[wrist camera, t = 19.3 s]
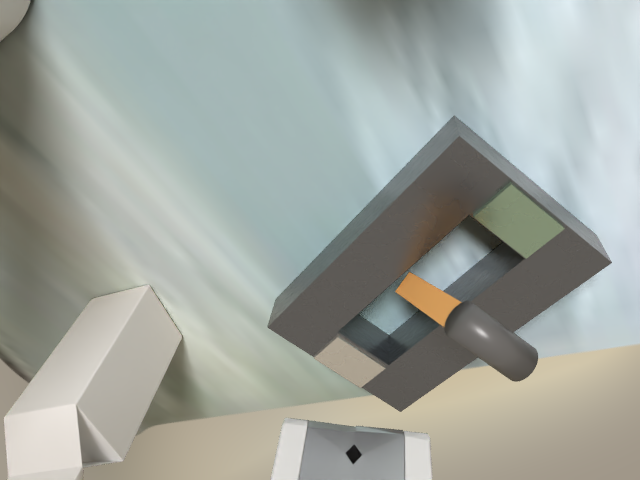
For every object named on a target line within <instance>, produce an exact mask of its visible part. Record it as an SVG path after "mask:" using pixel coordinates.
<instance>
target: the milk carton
mask: <svg viewBox="0 0 640 480" xmlns="http://www.w3.org/2000/svg"><path fill="white" fill-rule="evenodd" d="M181 339H182V335H181V333H180V332H179V330H178V329H177V327H176V326H175V324H174V322H173V321H172V319H171V318H170V316H169V315H168V313H167V312H166V310H165V308H164V307H163V305H162V304H161V302H160V301H159V299H158V298H157V296H156V294H155V293H154V291H153V290H152V288H151V287H150V285H145V286H141V287H137V288H133V289H129V290H125V291H121V292H117V293H113V294H109V295H104V296H100V297H97V298H93V299H91V300H90V302H89V303H88V304H87V306H86V307H85V308H84V310H83V311H82V313H81V314H80V315H79V317H78V318H77V319H76V321H75V322H74V323H73V325H72V326H71V327H70V329H69V330H68V331H67V333H66V334H65V336H64V337H63V338H62V340H61V341H60V342H59V344H58V345H57V346H56V348H55V349H54V350H53V352H52V353H51V355H50V356H49V357H48V359H47V360H46V361H45V363H44V364H43V365H42V367H41V368H40V369H39V371H38V372H37V373H36V375H35V376H34V378H33V379H32V380H31V382H30V383H29V384H28V386H27V387H26V388H25V390H24V391H23V392H22V394H21V395H20V397H19V398H18V399H17V401H16V402H15V403H14V405H13V406H12V407H11V409H10V410H9V412H8V413H7V414H6V415H5V417H4V427H5V441H6V453H7V467H8V478H7V480H83V468H85V467H91V466H98V465H103V464H110V463H116V462H121V461H123V460H124V459H125V457H126V455H127V453H128V450H129V448H130V446H131V444H132V442H133V440H134V438H135V436H136V434H137V432H138V429H139V427H140V425H141V423H142V421H143V419H144V417H145V415H146V413H147V410H148V408H149V406H150V404H151V402H152V400H153V398H154V396H155V394H156V392H157V389H158V387H159V385H160V383H161V381H162V379H163V377H164V375H165V373H166V370H167V368H168V366H169V364H170V362H171V360H172V358H173V356H174V354H175V352H176V349H177V347H178V345H179V343H180V341H181Z"/></svg>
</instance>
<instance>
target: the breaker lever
mask: <svg viewBox="0 0 640 480" xmlns="http://www.w3.org/2000/svg"><path fill="white" fill-rule="evenodd" d="M395 292H396V293H398V294H399V295H401V296H402V297H403V298H405V299H406V300H407V301H409V302H410V303H412V304H413V305H414V306H416V307H417V308H418V309H420V310H421V311H422V312H424V313H425V314H427V315H428V316H429V317H431V318H432V319H433V320H435V321H436V322H438V323H439V324H440V325H442V326H443V327H444V330H445V334H446V335H447V336H449V337H450V338H451V339H453V340H454V341H456V342H457V343H459V344H460V345H461V346H463V347H464V348H466V349H467V350H469V351H470V352H471V353H473V354H474V355H476V356H477V357H479V358H480V359H481V360H483V361H484V362H486V363H487V364H489V365H490V366H491V367H493V368H494V369H496V370H497V371H499V372H500V373H501V374H503V375H504V376H506V377H507V378H509V379H510V380H512V381H521V380H523V379H525V378H526V377H528V376H529V375H530V374H531V373H532V372H533V370H534V369H535V367H536V365H537V361H538V353H537V351H536V349H535V348H534V347H532V346H531V345H530V344H528V343H527V342H526V341H524V340H523V339H521V338H520V337H519V336H517V335H516V334H515V333H513V332H512V331H510V330H509V329H508V328H506V327H505V326H504V325H502V324H501V323H500V322H498V321H497V320H495V319H494V318H493V317H491V316H490V315H489V314H487V313H486V312H485V311H483V310H482V309H480V308H479V307H478V306H476V305H475V304H474V303H472V302H471V301H464V302H460V301H459V300H457V299H455V298H454V297H452V296H450V295H448V294H447V293H445V292H443V291H441V290H440V289H438V288H436V287H435V286H433V285H431V284H429V283H428V282H426V281H424V280H423V279H421V278H419V277H417V276H416V275H414V274H412V273H410V272H409V273H408V274H407V276H406V277H405V279H404V280H403V281H402V283H401V284H400V286H399V287H398V288H397V290H396V291H395Z"/></svg>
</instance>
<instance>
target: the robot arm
mask: <svg viewBox="0 0 640 480" xmlns="http://www.w3.org/2000/svg"><path fill="white" fill-rule="evenodd" d="M30 1H31V0H0V42H1V41H2V39H4V38H5V37H6V36H7V35H8V34H9V33H11V32H12V31H13V30H14V29H15V28H16V27H17V26H18V24H19V23H20V22H21V20H22V19H23V17H24V16H25V14H26V12H27V10H28V7H29V4H30ZM271 480H433V477H432V462H431V445H430V437H429V435H428V434H427V433H417V432H408V431H404V432H403V430H394V429H385V428H374V427H363V426H356V427H353V426H345V425H338V424H331V423H324V422H316V421H309V420H301V419H292V418H285V420H284V422H283V424H282V428H281V432H280V437H279V442H278V447H277V451H276V456H275V461H274V465H273V470H272V475H271Z"/></svg>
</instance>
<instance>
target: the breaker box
mask: <svg viewBox="0 0 640 480" xmlns="http://www.w3.org/2000/svg"><path fill="white" fill-rule="evenodd" d="M468 215H470V216H471V217H473V218H474V219H475V220H476V221H478V222H479V223H480V224H481V225H483V226H484V227H485V228H487V229H488V230H489V231H490V232H492V233H493V234H494V235H495V236H497V237H498V238H499V239H501V240H502V241H503V243H501V244H500V245H499V246H498V247H496V248H495V249H494V250H493V251H492V252H490V253H489V254H488V255H487V256H485V257H484V258H483V259H482V260H481V261H479V262H478V263H477V264H476V265H474V266H473V267H472V268H471V269H470V270H468V271H467V272H466V273H465V274H464V275H462V276H461V277H460V278H459V279H457V280H456V281H455V282H454V283H453V284H451V285H450V286H449V287H448V288H446V289H445V290H444V291H443V292H445V293H447V294H448V295H450V296H452V297H454V298H455V299H457V300H459V301H460V302H464V301H471V302H472V303H474V304H475V305H476V306H478V307H479V308H480V309H482V310H483V311H485V312H486V313H487V314H489V315H490V316H491V317H493V318H494V319H495V320H497V321H498V322H500V323H501V324H502V325H504V326H505V327H506V328H508V329H509V330H510V331H512V332H514V331H516V330H517V329H519V328H520V327H521V326H523V325H524V324H526V323H527V322H529V321H530V320H531V319H533V318H534V317H536V316H537V315H538V314H540V313H541V312H543V311H544V310H546V309H547V308H548V307H550V306H551V305H553V304H554V303H555V302H557V301H558V300H560V299H561V298H563V297H564V296H565V295H567V294H568V293H570V292H571V291H572V290H574V289H575V288H577V287H578V286H580V285H581V284H582V283H584V282H585V281H587V280H588V279H589V278H591V277H592V276H594V275H595V274H597V273H598V272H599V271H601V270H602V269H604V268H605V267H606V266H608V265H609V264H611V263H612V262H611V260H610V258H609V257H608V255H607V253H606V251H605V250H604V248H603V246H602V244H601V243H600V241H599V239H598V237H597V235H596V234H595V233H593V232H592V231H591V230H590V229H589V228H587V227H586V226H585V225H584V224H583V223H582V222H580V221H579V220H578V219H577V218H576V217H574V216H573V215H572V214H571V213H570V212H568V211H567V210H566V209H565V208H564V207H563V206H561V205H560V204H559V203H558V202H557V201H555V200H554V199H553V198H552V197H551V196H549V195H548V194H547V193H546V192H545V191H544V190H542V189H541V188H540V187H539V186H538V185H536V184H535V183H534V182H533V181H532V180H530V179H529V178H528V177H527V176H526V175H524V174H523V173H522V172H521V171H520V170H519V169H517V168H516V167H515V166H514V165H513V164H511V163H510V162H509V161H508V160H507V159H505V158H504V157H503V156H502V155H501V154H500V153H498V152H497V151H496V150H495V149H494V148H492V147H491V146H490V145H489V144H488V143H486V142H485V141H484V140H483V139H482V138H481V137H479V136H478V135H477V134H476V133H475V132H473V131H472V130H471V129H470V128H469V127H467V126H466V125H465V124H464V123H463V122H461V121H460V120H459V119H458V118H457V117H456V116H453V117H452V118H451V119H450V120H449V121H448V122H447V123H446V124H445V126H444V127H443V128H442V129H441V130H440V131H439V132H438V133H437V134H436V135H435V136H434V137H433V138H432V139H431V140H430V141H429V142H428V143H427V144H426V145H425V146H424V147H423V148H422V149H421V150H420V151H419V152H418V153H417V154H416V155H415V156H414V157H413V158H412V160H411V161H410V162H409V163H408V164H407V165H406V166H405V167H404V168H403V169H402V170H401V171H400V172H399V173H398V174H397V175H396V176H395V177H394V178H393V179H392V180H391V181H390V182H389V183H388V184H387V185H386V186H385V187H384V188H383V189H382V190H381V191H380V192H379V194H378V195H377V196H376V197H375V198H374V199H373V200H372V201H371V202H370V203H369V204H368V205H367V206H366V207H365V208H364V209H363V210H362V211H361V212H360V213H359V214H358V215H357V216H356V217H355V218H354V219H353V220H352V221H351V222H350V223H349V224H348V225H347V226H346V228H345V229H344V230H343V231H342V232H341V233H340V234H339V235H338V236H337V237H336V238H335V239H334V240H333V241H332V242H331V243H330V244H329V245H328V246H327V247H326V248H325V249H324V250H323V251H322V252H321V253H320V254H319V255H318V256H317V257H316V258H315V259H314V260H313V261H312V263H311V264H310V265H309V266H308V267H307V268H306V269H305V270H304V271H303V272H302V273H301V274H300V275H299V276H298V277H297V278H296V279H295V280H294V281H293V282H292V283H291V284H290V285H289V286H288V287H287V288H286V289H285V290H284V291H283V292H282V293H281V294H280V295H279V297H278V298H277V299H276V300H275V303H274V307H273V310H272V313H271V317H270V320H269V324H268V328H269V329H271V330H272V331H274V332H275V333H277V334H279V335H280V336H282V337H283V338H285V339H286V340H288V341H290V342H291V343H293V344H294V345H296V346H297V347H299V348H301V349H302V350H304V351H305V352H307V353H309V354H310V355H312V356H313V357H314V359H316V360H317V361H319V362H320V363H322V364H324V365H325V366H327V367H328V368H330V369H331V370H333V371H335V372H336V373H338V374H339V375H341V376H342V377H344V378H346V379H347V380H349V381H350V382H352V383H354V384H355V385H357V386H358V387H360V388H361V387H362V388H364V389H365V390H367V391H368V392H370V393H372V394H373V395H375V396H376V397H378V398H380V399H381V400H383V401H384V402H386V403H388V404H389V405H391V406H392V407H394V408H395V409H397V410H398V411H400V412H401V411H402V410H404V409H405V408H407V407H408V406H410V405H411V404H412V403H414V402H415V401H417V400H418V399H419V398H421V397H422V396H424V395H425V394H426V393H428V392H429V391H431V390H432V389H434V388H435V387H436V386H438V385H439V384H441V383H442V382H443V381H445V380H446V379H448V378H449V377H451V376H452V375H453V374H455V373H456V372H458V371H459V370H461V369H462V368H463V367H465V366H466V365H468V364H469V363H470V362H472V361H473V360H475V359H476V358H478V357H477V356H476V355H474V354H473V353H471V352H470V351H469V350H467V349H466V348H464V347H463V346H461V345H460V344H459V343H457V342H456V341H454V340H453V339H451V338H450V337H449V336H447V335H446V334H445V330H444V327H443V326H442V325H440V324H439V323H438V322H436V321H435V320H433V319H432V318H431V317H429V316H428V315H427V314H425V313H424V312H422V311H421V310H420V311H418V312H417V313H416V314H415V315H414V316H412V317H411V318H410V319H409V320H407V321H406V322H405V323H404V324H403V325H401V326H400V327H399V328H398V329H397V330H395V331H394V332H393V333H392V334H390V335H388V334H386V333H385V332H383V331H382V330H380V329H379V328H378V327H376V326H375V325H373V324H372V323H370V322H369V321H367V320H366V319H364V318H363V317H361V316H360V315H358V313H359V312H360V311H362V310H363V309H364V308H365V307H366V306H367V305H368V304H369V303H371V302H372V301H373V300H374V299H375V298H376V297H377V296H378V295H380V294H381V293H382V292H383V291H384V290H385V289H386V288H387V287H389V286H390V285H391V284H392V283H393V282H394V281H395V280H396V279H398V278H399V277H400V276H401V275H402V274H403V273H404V272H405V271H407V270H408V269H409V268H410V267H411V266H412V265H413V264H414V263H416V262H417V261H418V260H419V259H420V258H421V257H422V256H423V255H425V254H426V253H427V252H428V251H429V250H430V249H431V248H432V247H434V246H435V245H436V244H437V243H438V242H439V241H440V240H441V239H443V238H444V237H445V236H446V235H447V234H448V233H449V232H450V231H452V230H453V229H454V228H455V227H456V226H457V225H458V224H459V223H461V222H462V221H463V220H464V219H465V218H466V217H467V216H468Z"/></svg>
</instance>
